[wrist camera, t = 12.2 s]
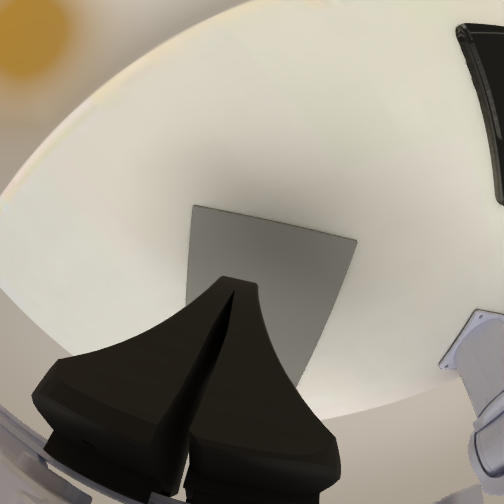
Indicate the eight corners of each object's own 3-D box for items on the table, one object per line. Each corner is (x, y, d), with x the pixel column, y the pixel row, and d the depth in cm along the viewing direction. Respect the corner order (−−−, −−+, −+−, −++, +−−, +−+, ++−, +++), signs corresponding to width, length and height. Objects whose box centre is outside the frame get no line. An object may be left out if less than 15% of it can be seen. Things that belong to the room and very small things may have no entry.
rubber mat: (356, 240, 19) (357, 242, 19) (286, 404, 29) (286, 405, 29) (193, 204, 20) (192, 205, 20) (184, 381, 30) (184, 383, 29)
